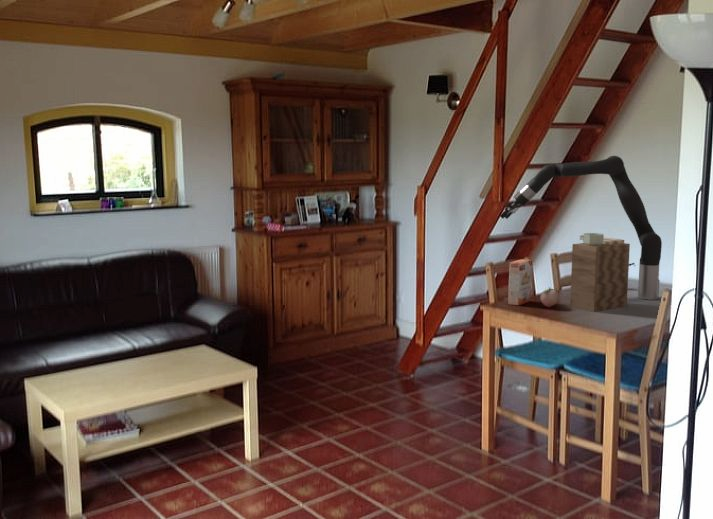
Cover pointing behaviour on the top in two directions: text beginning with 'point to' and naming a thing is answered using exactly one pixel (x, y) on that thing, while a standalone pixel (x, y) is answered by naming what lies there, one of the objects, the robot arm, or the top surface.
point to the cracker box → (519, 282)
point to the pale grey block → (593, 239)
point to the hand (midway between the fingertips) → (503, 217)
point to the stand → (599, 276)
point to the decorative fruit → (549, 297)
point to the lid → (608, 240)
